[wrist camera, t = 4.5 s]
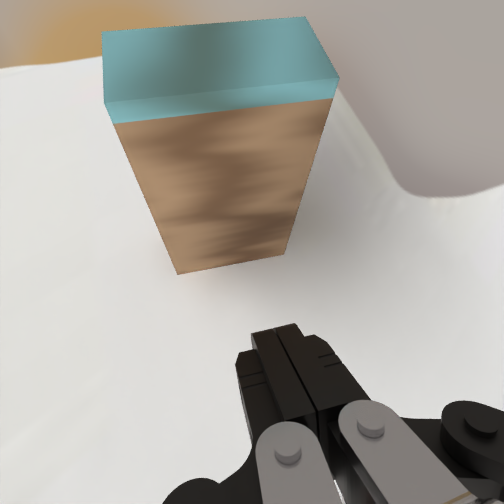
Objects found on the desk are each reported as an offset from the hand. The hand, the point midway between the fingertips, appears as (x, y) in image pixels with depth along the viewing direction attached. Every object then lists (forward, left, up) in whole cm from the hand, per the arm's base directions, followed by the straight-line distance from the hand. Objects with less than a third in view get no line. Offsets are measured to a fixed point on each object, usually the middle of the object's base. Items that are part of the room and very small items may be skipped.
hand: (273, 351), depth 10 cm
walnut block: (0, -10, -10) cm, 14 cm away
